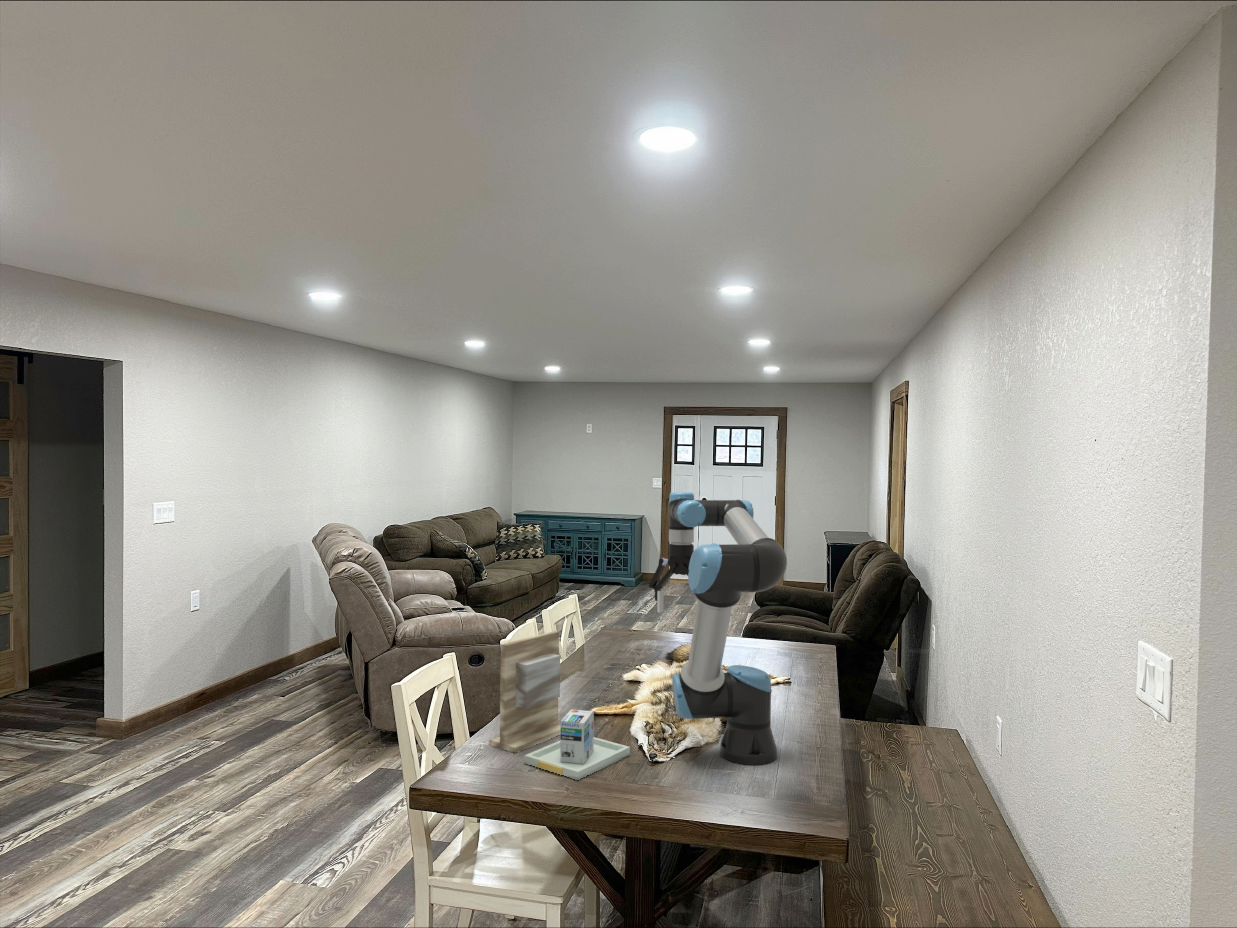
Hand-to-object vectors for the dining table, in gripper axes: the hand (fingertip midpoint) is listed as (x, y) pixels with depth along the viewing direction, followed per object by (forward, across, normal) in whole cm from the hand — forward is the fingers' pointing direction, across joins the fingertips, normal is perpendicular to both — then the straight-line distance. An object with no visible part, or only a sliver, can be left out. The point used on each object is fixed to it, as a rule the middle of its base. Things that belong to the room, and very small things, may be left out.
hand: (680, 614), depth 242 cm
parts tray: (+33, +11, +39) cm, 53 cm away
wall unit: (+33, +32, +33) cm, 56 cm away
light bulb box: (+33, +12, +39) cm, 52 cm away
